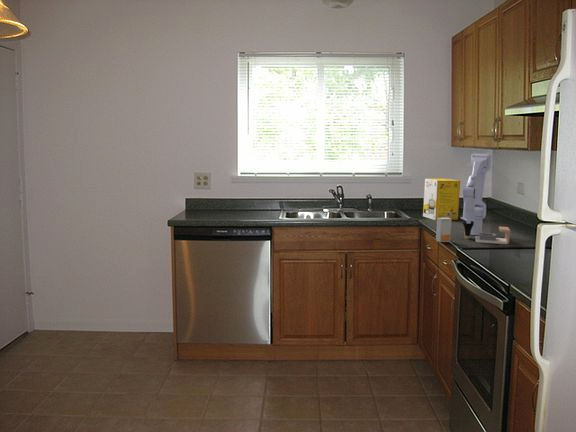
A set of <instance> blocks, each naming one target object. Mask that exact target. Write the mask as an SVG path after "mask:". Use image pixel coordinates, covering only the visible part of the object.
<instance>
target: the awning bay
mask: <svg viewBox="0 0 576 432" xmlns="http://www.w3.org/2000/svg"><path fill="white" fill-rule="evenodd" d="M498 230H499V231H500V233H505V237H503V238H502V237H497V234H496V233H494V232H493V233H490V232H482V233H480V235H479V236H478V235H474V240H475V243H486V244H498V245H510V236H511V229H510V228H509V227H508V226H498Z"/></svg>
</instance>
